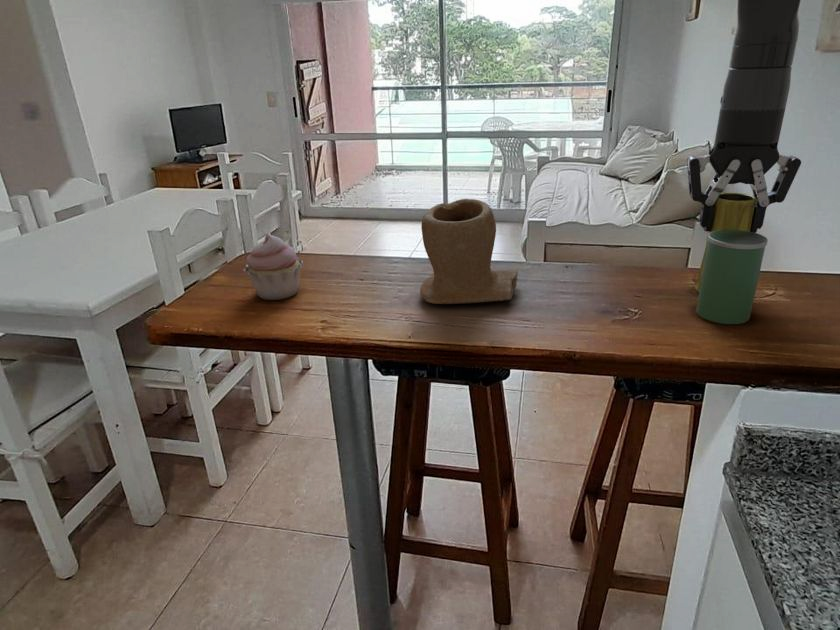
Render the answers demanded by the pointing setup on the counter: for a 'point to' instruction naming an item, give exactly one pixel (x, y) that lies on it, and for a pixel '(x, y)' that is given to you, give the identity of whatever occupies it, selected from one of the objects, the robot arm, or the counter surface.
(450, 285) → the stone cup
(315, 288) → the counter surface
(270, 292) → the cupcake
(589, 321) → the counter surface
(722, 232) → the green can
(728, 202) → the vase
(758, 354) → the counter surface
